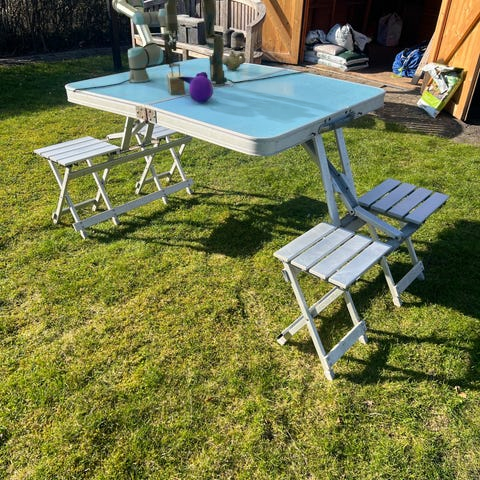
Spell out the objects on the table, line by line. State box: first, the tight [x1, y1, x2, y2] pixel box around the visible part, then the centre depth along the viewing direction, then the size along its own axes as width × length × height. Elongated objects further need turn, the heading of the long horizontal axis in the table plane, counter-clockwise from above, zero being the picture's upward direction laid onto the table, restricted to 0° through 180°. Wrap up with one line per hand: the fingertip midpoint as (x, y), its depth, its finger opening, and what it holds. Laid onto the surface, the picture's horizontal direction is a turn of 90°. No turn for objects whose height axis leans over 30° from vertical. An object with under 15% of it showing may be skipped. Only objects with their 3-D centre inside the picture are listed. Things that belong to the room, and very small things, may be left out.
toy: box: [178, 71, 214, 104], centre depth 278 cm, size 16×18×27 cm
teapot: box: [223, 50, 246, 71], centre depth 368 cm, size 21×12×15 cm, turn 120°
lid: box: [166, 62, 185, 79], centre depth 297 cm, size 17×9×9 cm, turn 14°
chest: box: [166, 74, 186, 96], centre depth 302 cm, size 16×9×10 cm, turn 14°
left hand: (169, 65), depth 324 cm, fingers open, 13 cm apart
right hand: (173, 50), depth 286 cm, fingers open, 8 cm apart
